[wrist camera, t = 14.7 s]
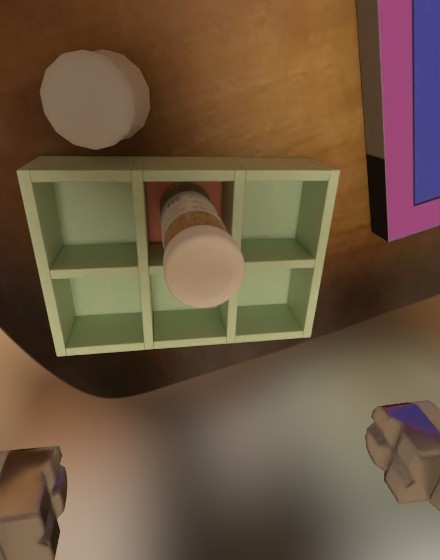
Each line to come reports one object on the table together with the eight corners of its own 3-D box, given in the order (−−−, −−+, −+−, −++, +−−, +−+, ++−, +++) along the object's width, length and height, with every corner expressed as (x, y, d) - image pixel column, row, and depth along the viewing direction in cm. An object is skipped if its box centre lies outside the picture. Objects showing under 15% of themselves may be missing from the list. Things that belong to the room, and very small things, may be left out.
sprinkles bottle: (178, 240, 33) (194, 324, 21) (147, 199, 31) (146, 267, 19) (221, 212, 33) (261, 282, 21) (192, 168, 30) (219, 219, 19)
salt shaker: (88, 144, 29) (48, 181, 18) (58, 62, 26) (-12, 44, 15) (159, 127, 30) (165, 152, 18) (137, 44, 27) (128, 13, 15)
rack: (69, 319, 36) (56, 356, 31) (39, 155, 29) (16, 170, 24) (290, 305, 40) (310, 337, 35) (311, 157, 33) (340, 170, 28)
